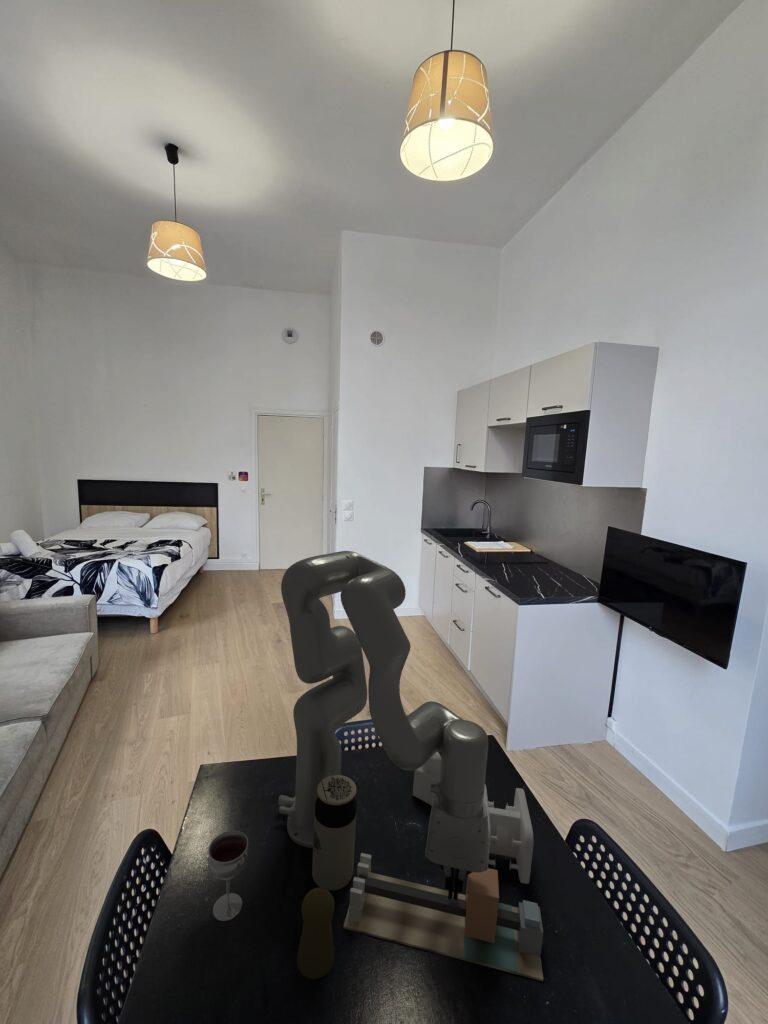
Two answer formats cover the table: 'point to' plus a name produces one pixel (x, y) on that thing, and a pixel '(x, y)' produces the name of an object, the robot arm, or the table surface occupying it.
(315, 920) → the yellow peg figure
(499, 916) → the dark grey bar
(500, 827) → the cable organizer
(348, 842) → the travel mug
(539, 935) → the connector
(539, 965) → the board
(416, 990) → the table surface
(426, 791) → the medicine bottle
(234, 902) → the wineglass
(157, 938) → the table surface
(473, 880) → the brown rectangular block
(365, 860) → the cable comb
